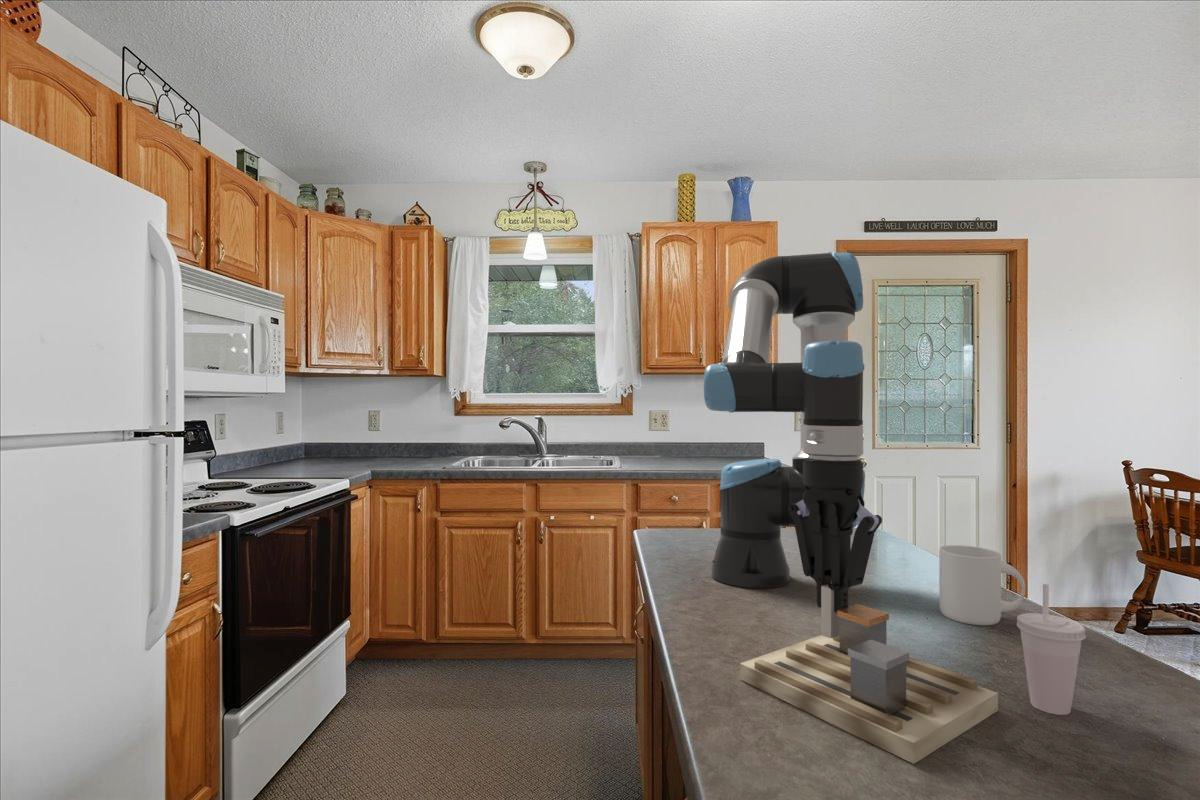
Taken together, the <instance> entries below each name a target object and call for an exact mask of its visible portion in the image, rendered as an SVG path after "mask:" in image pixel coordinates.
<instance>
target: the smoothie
mask: <svg viewBox="0 0 1200 800" xmlns="http://www.w3.org/2000/svg"><path fill="white" fill-rule="evenodd" d="M1049 586H1050V585H1049V584H1047V583H1042V613H1036V612H1029V613H1021V614H1018V615H1017V617H1016V626H1017V628H1018V629H1020V637H1021V644H1022V651H1023V658H1024V659H1023V660H1024V664H1025V672H1026V680H1027V686H1028V687H1027V688H1028V695H1029V699H1030V700H1029V701H1030V704H1031V706H1033V707H1034V708H1035V709H1037V710H1039V711H1041V712H1044V713H1047V714H1052V715H1057V716H1067V715H1069V714H1071V709H1072V705H1073V698H1074V692H1075V686H1076V681H1077V680H1076V679H1077V672H1078V668H1079V666H1078V665H1079V660H1080V655H1081V646H1082V641H1083V640H1085V639H1086V638H1087V636H1086V628H1085V626H1083V625H1082V624H1081V623H1079V622H1077V621H1075V620H1072V619H1069V618H1065V617H1062V616H1058V615H1053V614H1050V613H1049V612H1050V609H1049V606H1050V603H1049V601H1050V599H1049V598H1050V593H1049V591H1050V589H1049V588H1050V587H1049Z"/></svg>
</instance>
